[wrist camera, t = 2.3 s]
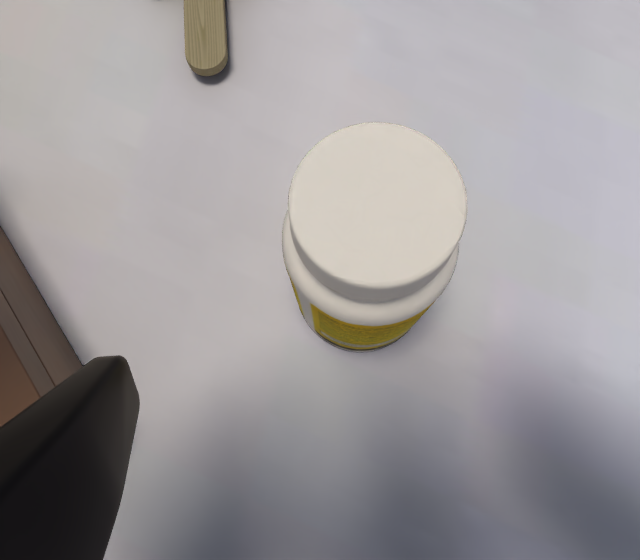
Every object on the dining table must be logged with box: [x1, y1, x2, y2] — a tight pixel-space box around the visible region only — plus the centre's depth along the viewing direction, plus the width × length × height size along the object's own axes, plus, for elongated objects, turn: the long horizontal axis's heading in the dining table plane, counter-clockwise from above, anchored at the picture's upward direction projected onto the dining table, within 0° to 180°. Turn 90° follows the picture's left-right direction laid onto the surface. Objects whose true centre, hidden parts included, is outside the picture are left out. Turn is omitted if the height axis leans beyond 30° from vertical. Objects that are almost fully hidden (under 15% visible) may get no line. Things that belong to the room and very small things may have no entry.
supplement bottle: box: [282, 122, 467, 352], centre depth 15 cm, size 5×5×8 cm
